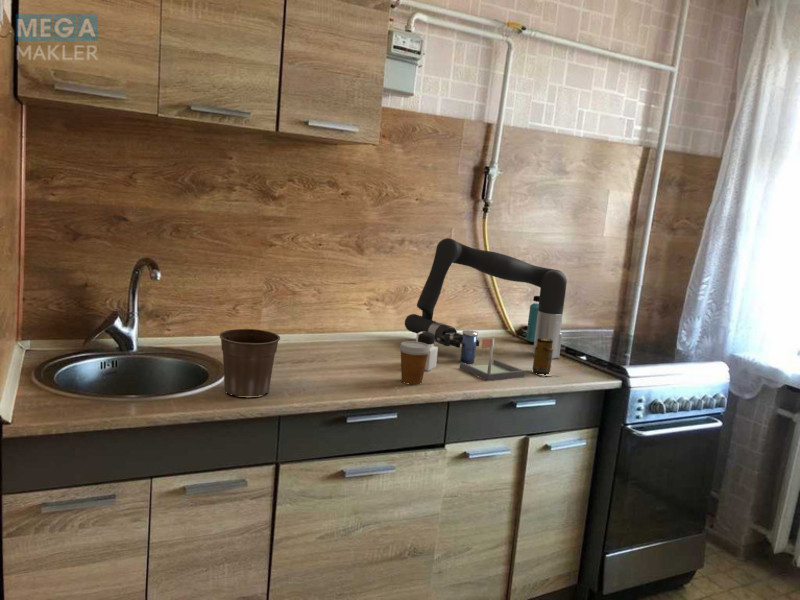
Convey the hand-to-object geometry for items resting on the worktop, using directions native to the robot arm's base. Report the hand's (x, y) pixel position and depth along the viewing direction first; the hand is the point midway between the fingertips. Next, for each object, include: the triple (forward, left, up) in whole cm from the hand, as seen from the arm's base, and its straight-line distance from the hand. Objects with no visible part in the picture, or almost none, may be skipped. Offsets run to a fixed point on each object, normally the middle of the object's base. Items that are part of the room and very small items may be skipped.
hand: (469, 344), depth 239 cm
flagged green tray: (-3, +13, -7) cm, 15 cm away
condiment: (-23, +12, -7) cm, 27 cm away
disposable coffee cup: (+27, +25, -7) cm, 37 cm away
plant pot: (+77, +37, -7) cm, 85 cm away
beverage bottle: (-39, -32, -7) cm, 51 cm away
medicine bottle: (+19, +8, -7) cm, 21 cm away
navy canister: (0, 0, -7) cm, 6 cm away
